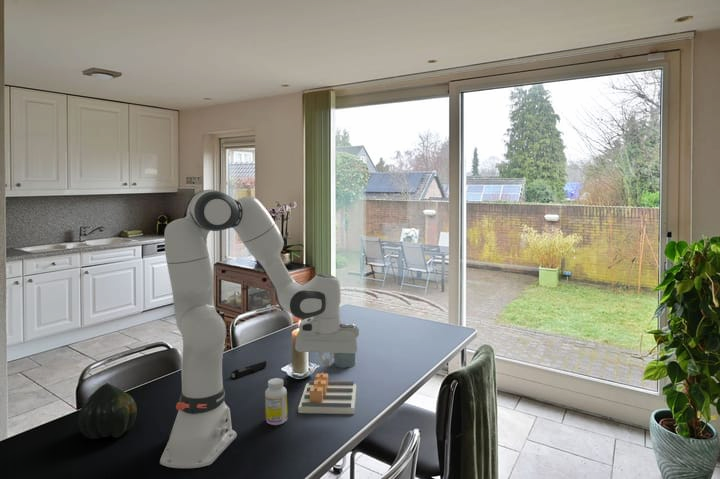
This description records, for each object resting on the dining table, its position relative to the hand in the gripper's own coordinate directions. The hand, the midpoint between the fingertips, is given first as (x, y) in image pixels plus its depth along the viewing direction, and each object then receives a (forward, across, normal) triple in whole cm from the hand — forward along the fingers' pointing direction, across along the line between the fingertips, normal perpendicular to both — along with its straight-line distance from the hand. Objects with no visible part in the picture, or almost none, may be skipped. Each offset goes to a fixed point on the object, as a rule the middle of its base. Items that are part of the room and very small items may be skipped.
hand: (326, 364), depth 148 cm
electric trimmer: (+15, +34, -27) cm, 46 cm away
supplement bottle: (+15, +15, +9) cm, 23 cm away
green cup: (+15, -3, -38) cm, 41 cm away
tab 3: (+13, +3, +1) cm, 13 cm away
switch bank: (+15, 0, -5) cm, 16 cm away
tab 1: (+13, +3, -10) cm, 17 cm away
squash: (+16, +62, +19) cm, 67 cm away
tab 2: (+13, +3, -5) cm, 14 cm away
